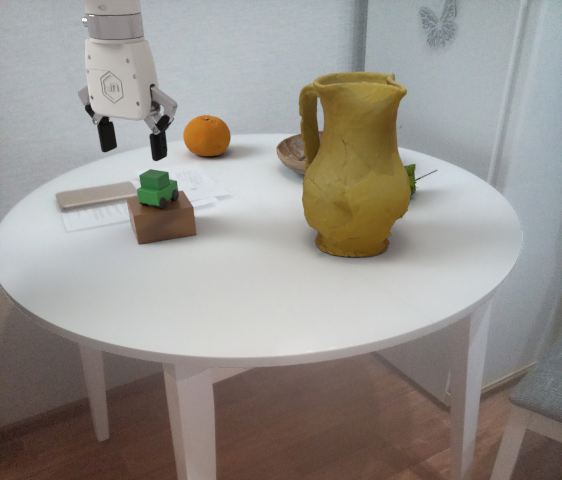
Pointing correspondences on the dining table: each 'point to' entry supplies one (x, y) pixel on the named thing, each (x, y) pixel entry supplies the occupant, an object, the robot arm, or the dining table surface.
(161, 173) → the toy car
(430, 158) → the dining table surface
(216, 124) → the fruit
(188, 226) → the wooden block
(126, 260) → the dining table surface
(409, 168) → the toy tank
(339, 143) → the pitcher
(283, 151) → the ceramic bowl
